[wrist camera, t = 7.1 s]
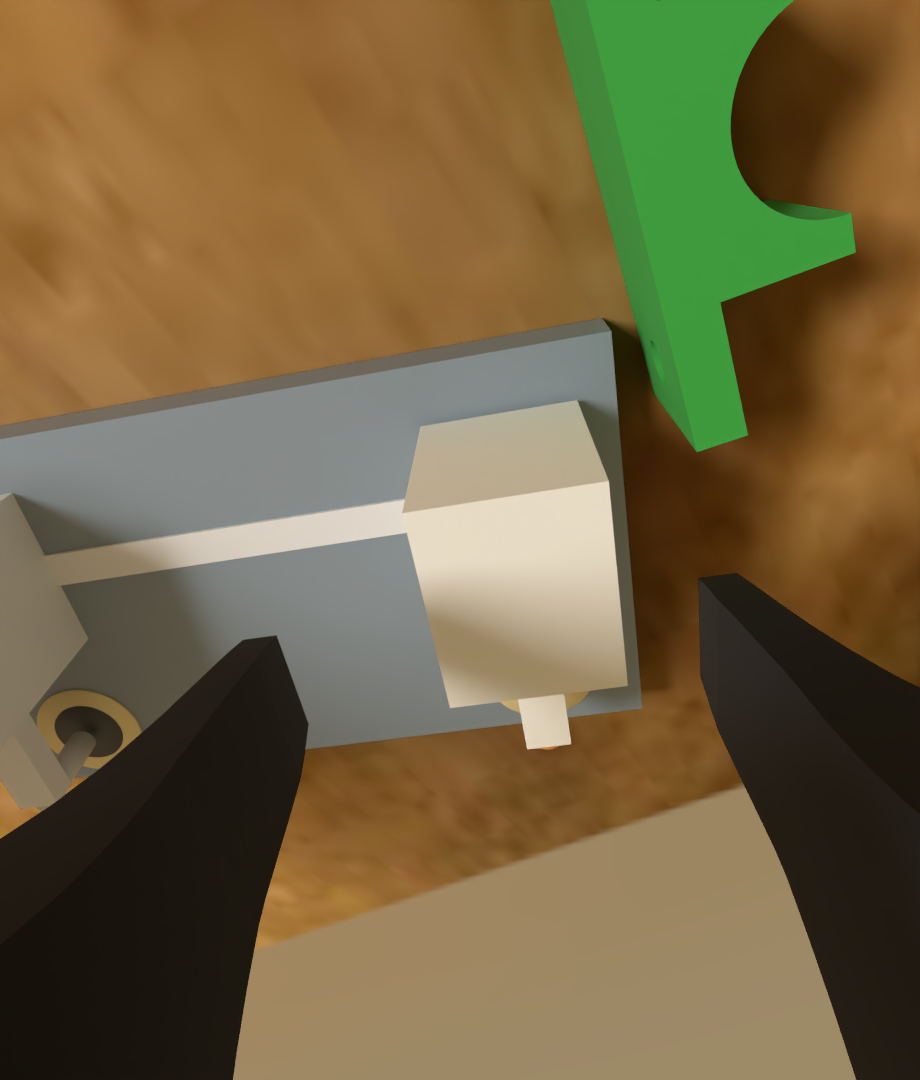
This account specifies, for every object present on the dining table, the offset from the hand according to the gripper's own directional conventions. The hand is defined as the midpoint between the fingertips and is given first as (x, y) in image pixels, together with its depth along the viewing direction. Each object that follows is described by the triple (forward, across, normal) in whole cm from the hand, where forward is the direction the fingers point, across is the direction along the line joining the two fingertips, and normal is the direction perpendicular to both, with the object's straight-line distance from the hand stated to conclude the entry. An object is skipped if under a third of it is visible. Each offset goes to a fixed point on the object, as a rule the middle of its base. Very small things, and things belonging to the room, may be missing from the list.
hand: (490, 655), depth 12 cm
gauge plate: (+9, +6, +3) cm, 12 cm away
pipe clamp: (+10, -6, -7) cm, 13 cm away
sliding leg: (+8, -1, +3) cm, 8 cm away
